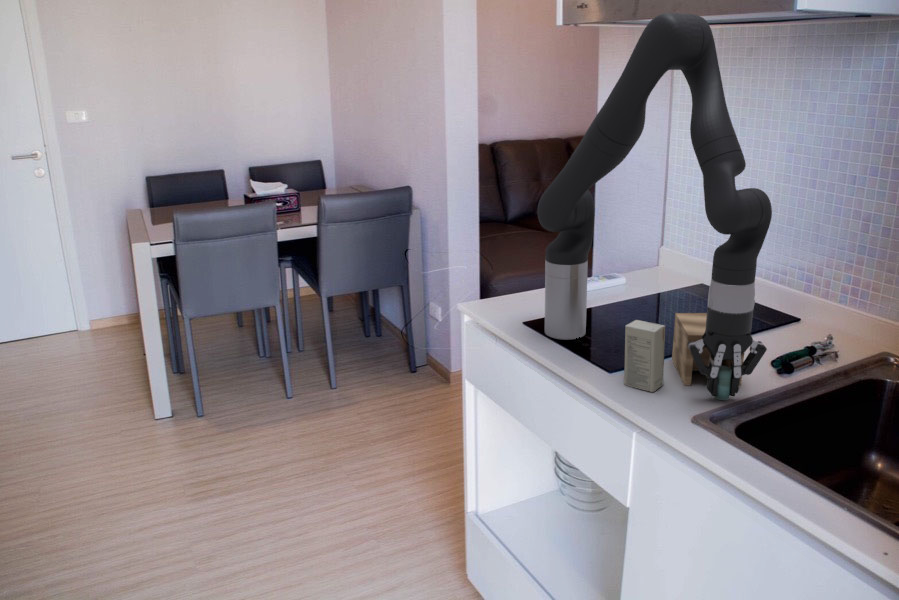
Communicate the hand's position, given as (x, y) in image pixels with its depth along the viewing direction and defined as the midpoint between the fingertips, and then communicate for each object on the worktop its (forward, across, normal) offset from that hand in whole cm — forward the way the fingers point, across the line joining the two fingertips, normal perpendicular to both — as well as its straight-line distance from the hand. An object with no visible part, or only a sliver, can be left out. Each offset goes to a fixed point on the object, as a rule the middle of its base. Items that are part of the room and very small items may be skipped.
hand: (721, 394), depth 135 cm
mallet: (+1, 0, -8) cm, 8 cm away
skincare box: (+1, +13, -6) cm, 14 cm away
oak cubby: (+1, 0, -12) cm, 12 cm away
